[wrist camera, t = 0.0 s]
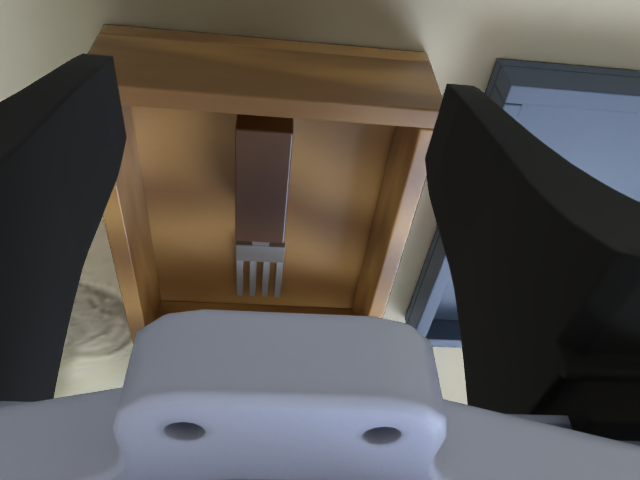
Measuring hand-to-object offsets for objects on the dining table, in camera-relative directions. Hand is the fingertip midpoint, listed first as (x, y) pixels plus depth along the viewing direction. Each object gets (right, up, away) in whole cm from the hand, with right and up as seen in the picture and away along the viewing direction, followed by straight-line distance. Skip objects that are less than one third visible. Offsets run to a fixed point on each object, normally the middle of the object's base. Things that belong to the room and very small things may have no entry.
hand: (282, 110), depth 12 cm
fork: (-2, -1, +15) cm, 15 cm away
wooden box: (-2, -1, +15) cm, 15 cm away
